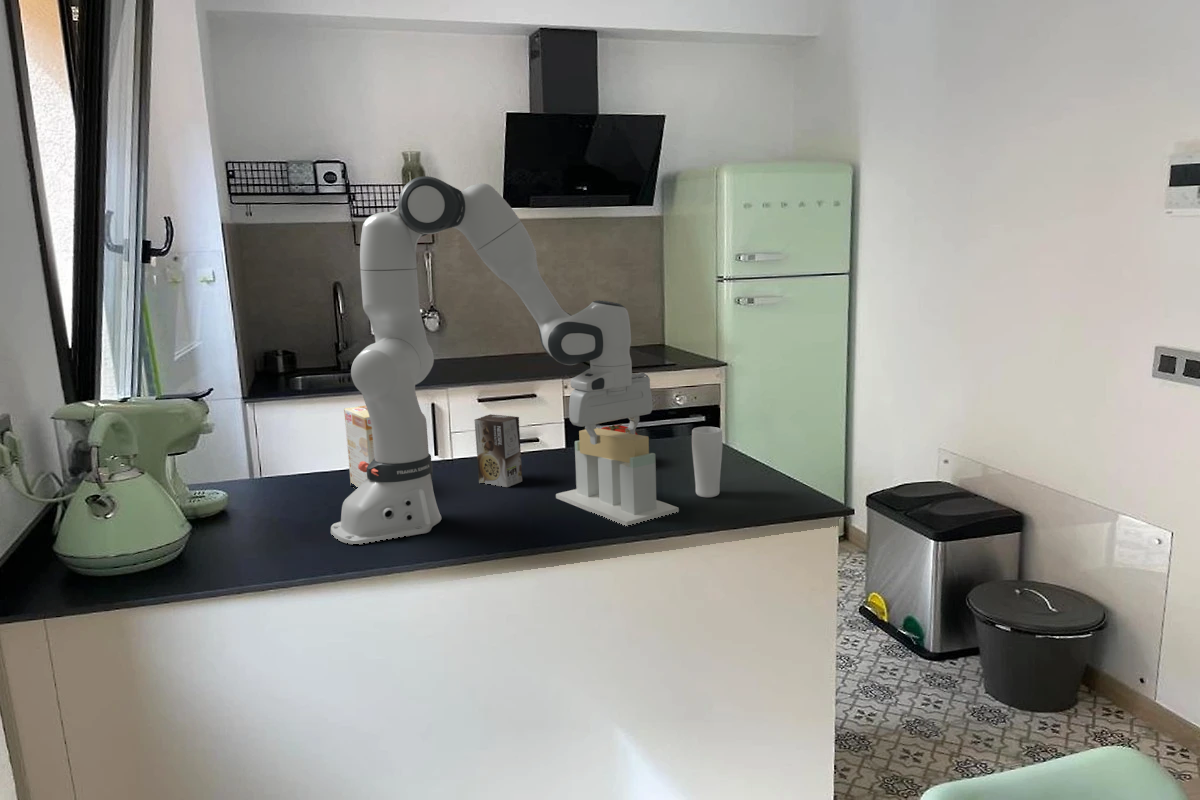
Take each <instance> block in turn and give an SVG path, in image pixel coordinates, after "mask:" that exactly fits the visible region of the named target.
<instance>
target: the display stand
mask: <svg viewBox="0 0 1200 800" xmlns="http://www.w3.org/2000/svg"><path fill="white" fill-rule="evenodd" d="M574 455H575V457H574V459H575V460H574V461H575V485H576V488H575V489H574V488H573V489H571V490H567V491H566V490H565V491H562V492H558V493H556V494H555V499H557V500H560V501H562V502H565V503H567V504H569V505H572V506H575V507H576V508H580V509H582V510H584V511H586V512H588V513H591V512H592V514H594V513H595V515H596V514H597V516H599V515H600V516H599V517H601V516H603V517H602V518H604V517H605V518H604V519H606V518H607V519H606V520H609V519H610V520H609V521H611V520H612V521H611V522H614V521H615V522H614V523H616V522H617V524H619V523H620V524H619V525H621V524H622V526H624V525H625V526H624V527H626V526H627V527H629V526H628V525H631V526H633V525H632V524H634V525H637V524H636V523H638V524H641V523H640V522H642V523H644V522H643V521H645V522H648V521H647V520H649V521H651V520H650V519H652V520H655V519H654V518H656V519H659V518H662V517H661V516H663V517H666V516H665V515H667V516H669V514H670V515H673V514H672V513H674V514H677V513H679V511H680V509H679V507H677V506H675V505H672V504H669V503H667V502H664V501H661V500H658V499H657V471H656V469H657V468H656V467H657V466H656V464H657V463H656V453H654V452H649V454H645V455H640V456H636V457H631V458H630V463H627V462H622V461H617V460H612V459H607V458H602V457H597V456H592V455H587V454H582V453H580V440H575V441H574ZM676 512H677V513H676ZM658 517H659V518H658Z"/></svg>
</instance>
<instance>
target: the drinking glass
mask: <svg viewBox="0 0 1200 800" xmlns="http://www.w3.org/2000/svg"><path fill="white" fill-rule="evenodd" d="M691 453H692V463H693V472H694V485H695V494H696V495H697V497H701V498H715V497H717V496H719V494H720V489H721V488H720V487H721V486H720V483H721V470H722V460H723V429H722V428H720V427H715V426H698V427H694V428H693V429H691Z"/></svg>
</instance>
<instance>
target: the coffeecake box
mask: <svg viewBox="0 0 1200 800" xmlns="http://www.w3.org/2000/svg"><path fill="white" fill-rule="evenodd" d="M343 411H344V412H343V413H344V422H345V423H344V424H345V435H346V444H347V445H346V446H347V455H348V456H347V457H348V468H349V479H350V484H351V483H352V484H354V485H355V486H356V487H359V486H360V485H361V484H362V483H363V482H364V481H365V480H366V479H367V472H363V471H361V470H360V469H358V464H360V462H362V461H365V462H366V463H368V464H370V463H371V462H372V461H373V459H374V458H375V457H374V446H373V435H372V426H371V421H370V417H369V413H368V410H367V407H366V405H360V406H359V405H358V406H353V407H345V408H344V409H343Z"/></svg>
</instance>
